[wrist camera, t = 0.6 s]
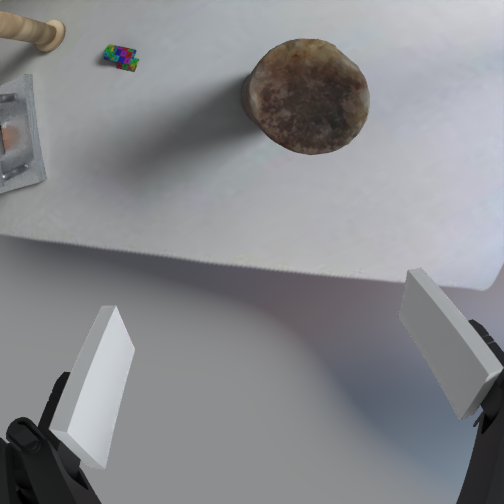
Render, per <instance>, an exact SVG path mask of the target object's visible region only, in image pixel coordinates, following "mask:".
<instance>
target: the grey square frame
mask: <svg viewBox="0 0 504 504" xmlns="http://www.w3.org/2000/svg"><path fill="white" fill-rule="evenodd" d="M0 124H1V129H2V136H3V142H4V149H5V154H4V155H2V156H0V193H4V192H7V191H10V190H14V189H17V188H21V187H24V186H28V185H31V184H35V183H39V182H41V181H43V180H45V179H47V178H46V173H45V168H44V163H43V158H42V152H41V147H40V141H39V134H38V127H37V120H36V112H35V103H34V92H33V79H32V74H24V75H21V76H19V77H17V78H15V79H13V80H11V81H9V82H7V83H5V84H3V85H1V86H0Z"/></svg>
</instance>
